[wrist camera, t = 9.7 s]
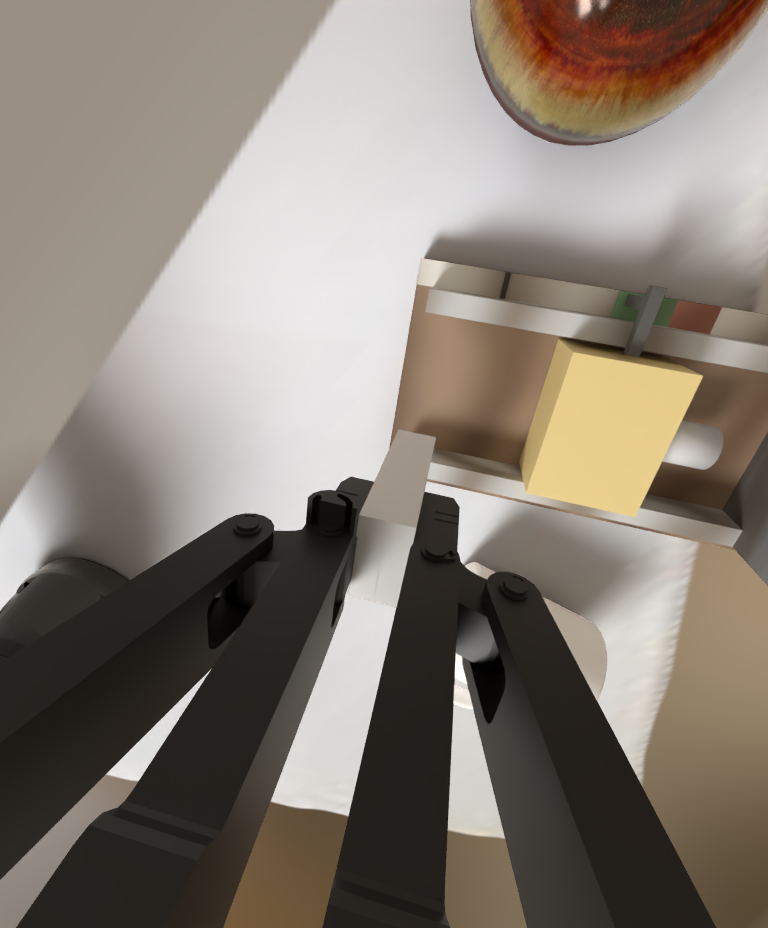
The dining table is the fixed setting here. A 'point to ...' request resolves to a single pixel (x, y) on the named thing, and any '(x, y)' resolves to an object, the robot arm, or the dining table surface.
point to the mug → (577, 635)
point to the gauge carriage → (614, 421)
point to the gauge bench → (523, 376)
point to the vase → (604, 59)
